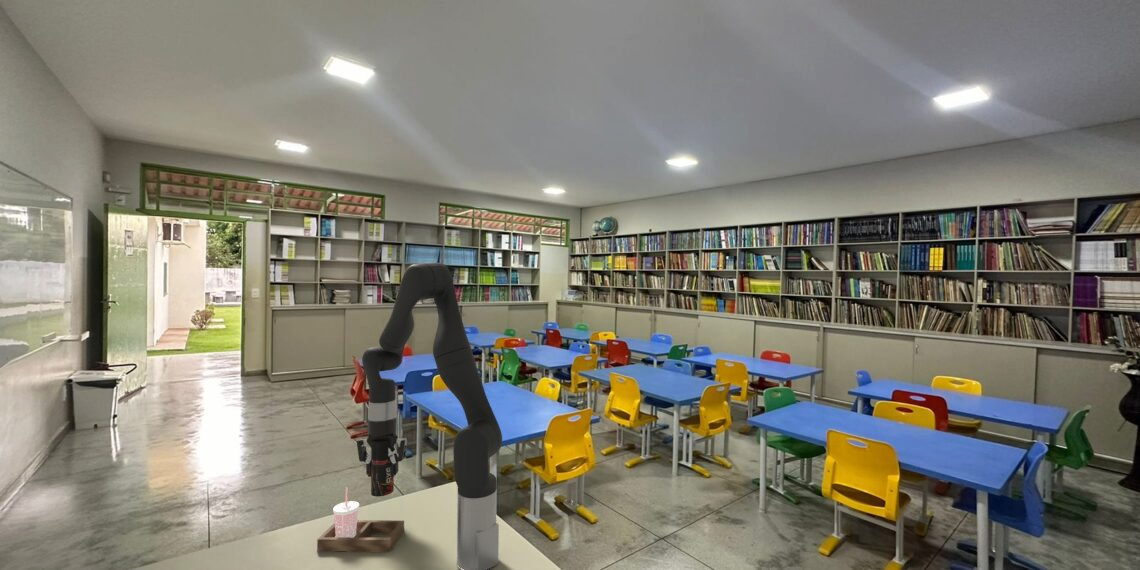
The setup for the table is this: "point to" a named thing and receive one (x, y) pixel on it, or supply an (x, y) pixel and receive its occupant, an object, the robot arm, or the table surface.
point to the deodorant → (381, 468)
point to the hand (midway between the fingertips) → (382, 475)
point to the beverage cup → (346, 518)
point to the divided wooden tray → (363, 537)
